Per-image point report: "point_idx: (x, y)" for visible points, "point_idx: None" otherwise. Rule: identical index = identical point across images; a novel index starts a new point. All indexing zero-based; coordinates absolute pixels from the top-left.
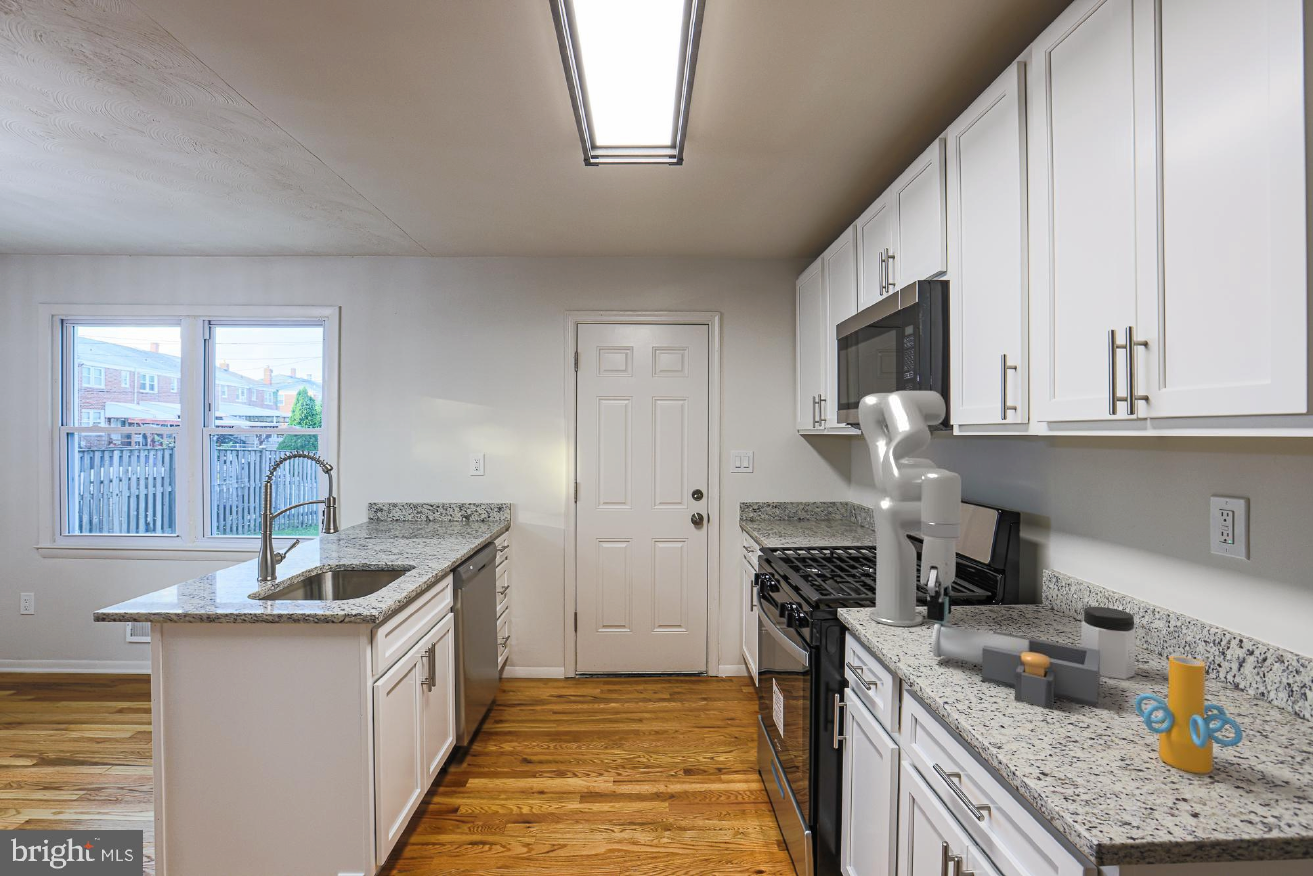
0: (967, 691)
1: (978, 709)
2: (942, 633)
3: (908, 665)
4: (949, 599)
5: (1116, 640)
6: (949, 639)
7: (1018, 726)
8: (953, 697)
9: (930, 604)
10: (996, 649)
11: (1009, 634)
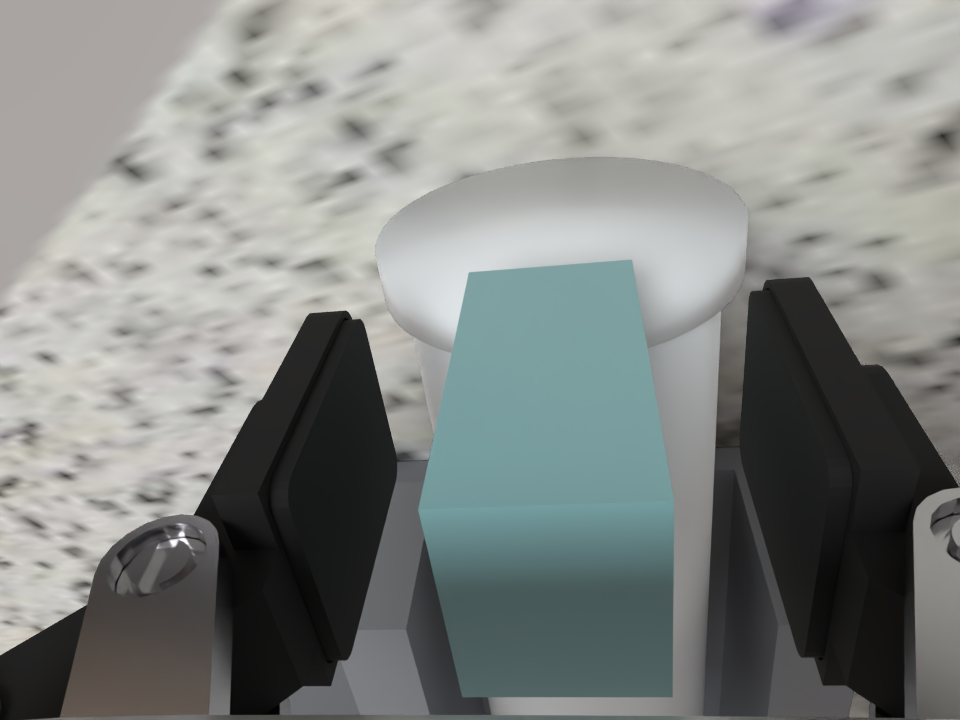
0: (179, 439)
1: (28, 514)
2: (433, 360)
3: (256, 16)
4: (790, 620)
5: None
6: (429, 396)
7: (35, 628)
8: (36, 411)
9: (201, 507)
10: (380, 684)
11: (833, 697)
